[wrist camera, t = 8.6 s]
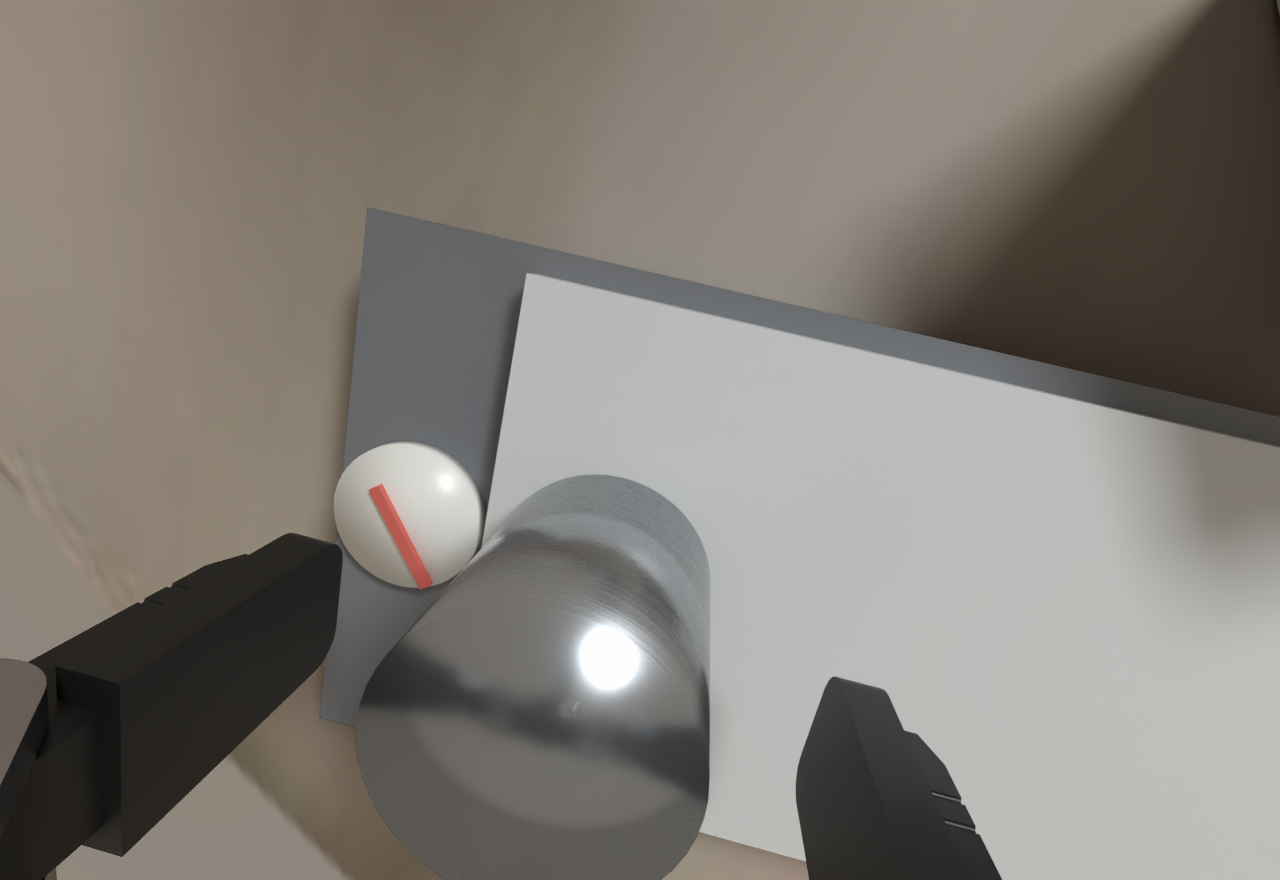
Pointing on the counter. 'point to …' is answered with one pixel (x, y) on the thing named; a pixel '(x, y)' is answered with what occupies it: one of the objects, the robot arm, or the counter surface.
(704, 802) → the cylinder
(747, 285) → the counter surface
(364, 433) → the scale
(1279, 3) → the medicine box
